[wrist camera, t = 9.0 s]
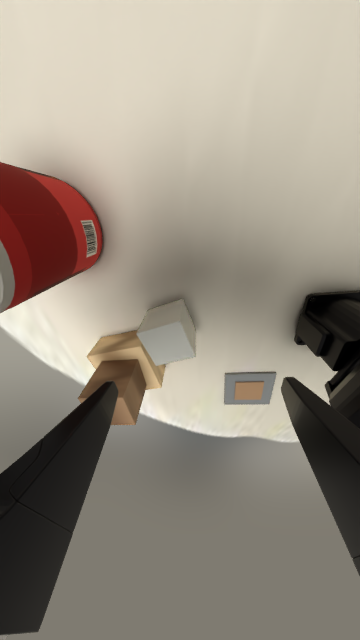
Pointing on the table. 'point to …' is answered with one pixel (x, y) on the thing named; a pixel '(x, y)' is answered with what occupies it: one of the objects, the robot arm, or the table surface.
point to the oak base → (128, 356)
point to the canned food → (42, 234)
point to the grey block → (168, 333)
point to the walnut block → (120, 388)
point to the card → (249, 387)
